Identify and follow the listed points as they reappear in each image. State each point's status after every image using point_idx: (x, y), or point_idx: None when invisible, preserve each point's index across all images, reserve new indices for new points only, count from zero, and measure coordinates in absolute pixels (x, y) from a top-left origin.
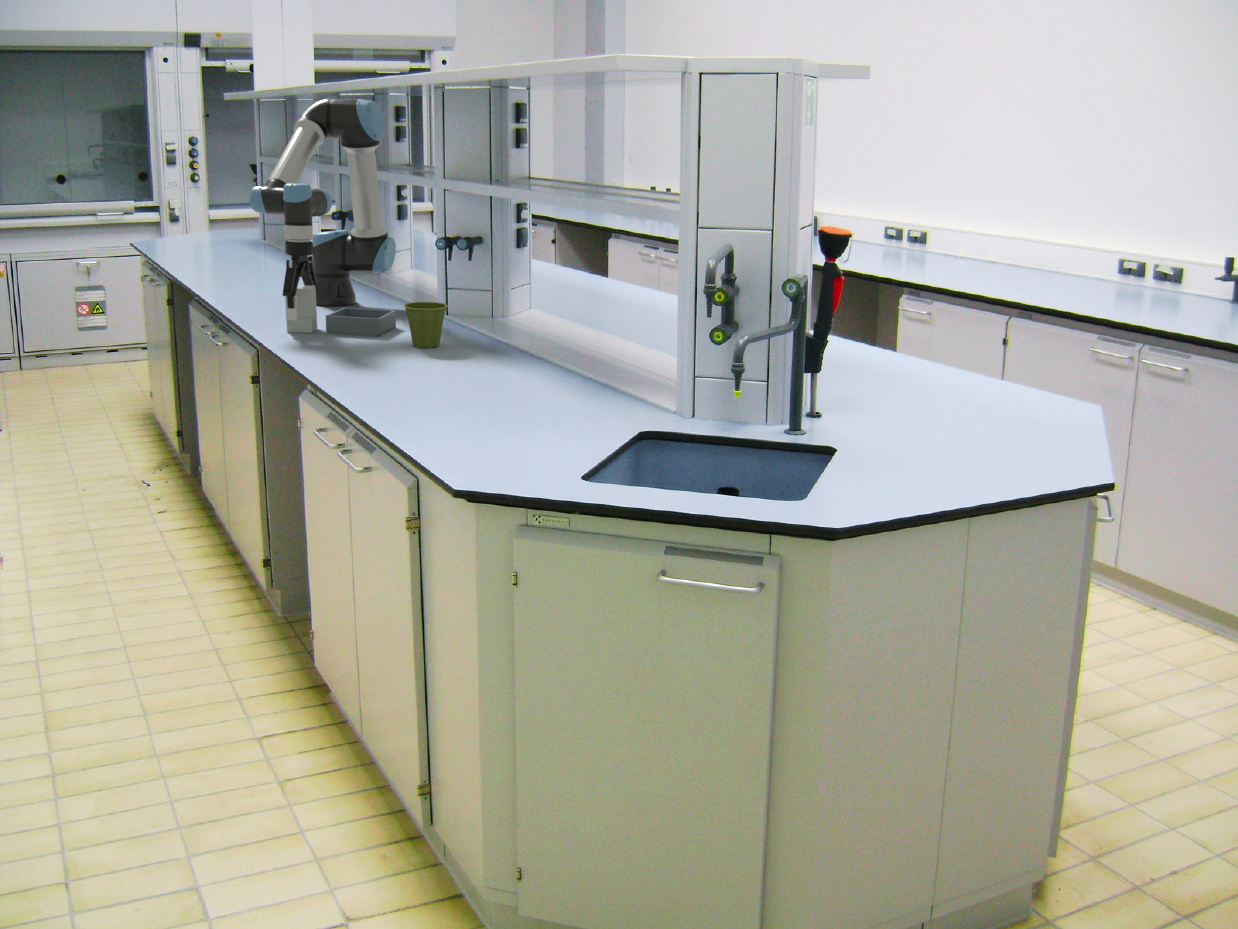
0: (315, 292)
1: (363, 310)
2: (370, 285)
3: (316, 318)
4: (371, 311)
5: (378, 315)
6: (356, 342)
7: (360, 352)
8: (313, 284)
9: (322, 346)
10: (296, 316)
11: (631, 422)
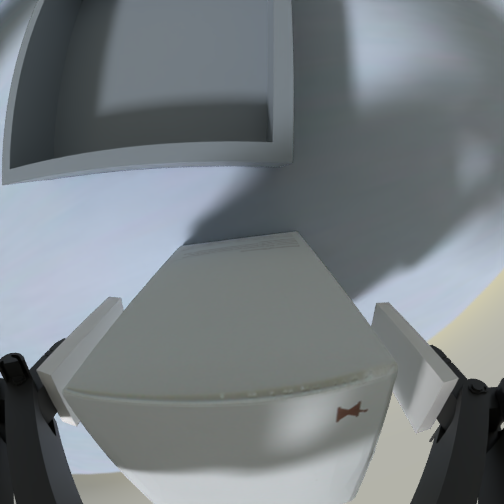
0: (113, 345)
1: (23, 81)
2: None
3: (179, 259)
4: (33, 48)
5: (50, 27)
6: (414, 29)
7: (500, 39)
8: (15, 401)
9: (494, 133)
10: (397, 311)
11: None
